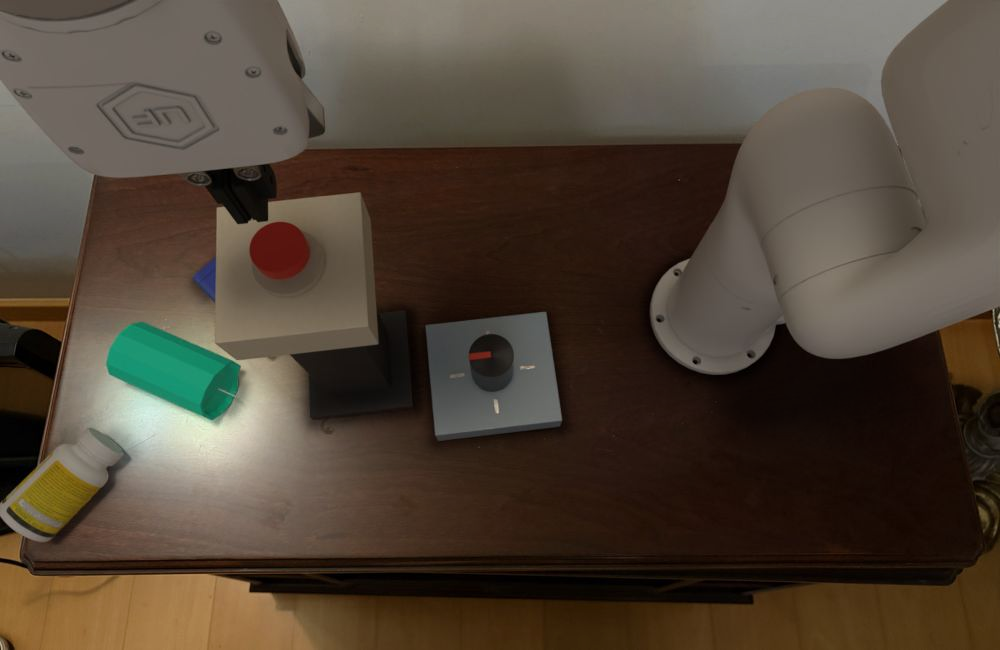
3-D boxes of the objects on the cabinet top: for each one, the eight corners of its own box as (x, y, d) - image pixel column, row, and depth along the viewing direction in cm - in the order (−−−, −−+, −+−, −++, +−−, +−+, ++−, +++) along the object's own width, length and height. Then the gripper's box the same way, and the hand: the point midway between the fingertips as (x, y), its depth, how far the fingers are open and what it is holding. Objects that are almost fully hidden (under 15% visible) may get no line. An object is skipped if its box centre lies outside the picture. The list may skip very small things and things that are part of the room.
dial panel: (544, 321, 73) (546, 310, 70) (560, 426, 69) (562, 420, 66) (428, 334, 72) (425, 324, 69) (437, 441, 69) (434, 435, 66)
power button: (309, 226, 47) (304, 218, 46) (311, 276, 46) (306, 269, 44) (254, 232, 47) (248, 224, 45) (255, 282, 45) (248, 275, 44)
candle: (136, 378, 72) (239, 424, 70) (96, 378, 66) (208, 428, 64) (159, 324, 72) (263, 368, 70) (122, 318, 66) (234, 366, 64)
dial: (510, 349, 69) (510, 330, 63) (515, 389, 67) (516, 373, 62) (469, 354, 68) (466, 335, 63) (473, 394, 67) (470, 378, 62)
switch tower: (407, 313, 73) (358, 187, 49) (414, 408, 70) (366, 323, 46) (310, 324, 73) (213, 202, 49) (313, 420, 69) (210, 340, 45)
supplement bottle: (56, 551, 64) (138, 467, 66) (2, 530, 60) (91, 441, 62) (40, 519, 68) (118, 439, 70) (-11, 497, 64) (73, 413, 66)
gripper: (-220, 21, 20) (111, 276, 37) (311, -25, 21) (394, 246, 38) (-170, -167, 22) (119, 154, 40) (303, -203, 23) (384, 128, 41)
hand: (253, 199), depth 39 cm, fingers closed
